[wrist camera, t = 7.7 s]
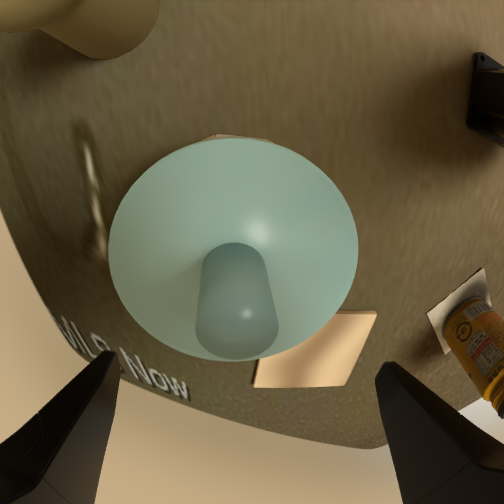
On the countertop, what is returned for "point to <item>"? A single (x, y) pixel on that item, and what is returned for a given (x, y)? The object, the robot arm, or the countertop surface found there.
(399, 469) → the robot arm
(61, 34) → the pepper shaker
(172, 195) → the lid
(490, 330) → the condiment
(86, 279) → the countertop surface
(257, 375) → the plate
